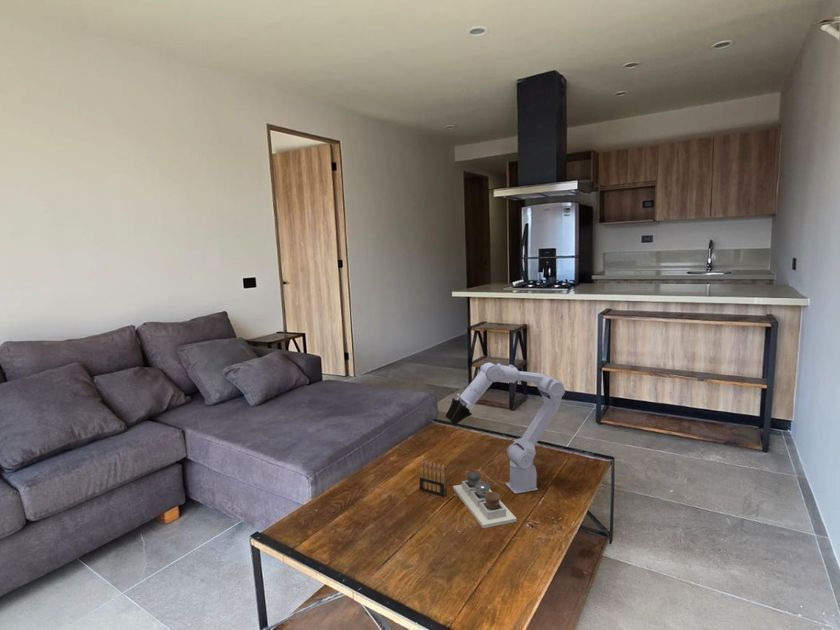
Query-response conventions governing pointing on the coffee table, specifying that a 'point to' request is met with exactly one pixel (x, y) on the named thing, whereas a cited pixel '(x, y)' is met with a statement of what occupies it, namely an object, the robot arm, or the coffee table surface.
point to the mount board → (483, 507)
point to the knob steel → (482, 488)
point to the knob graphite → (473, 478)
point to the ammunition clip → (432, 479)
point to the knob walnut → (492, 500)
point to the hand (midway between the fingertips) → (449, 420)
